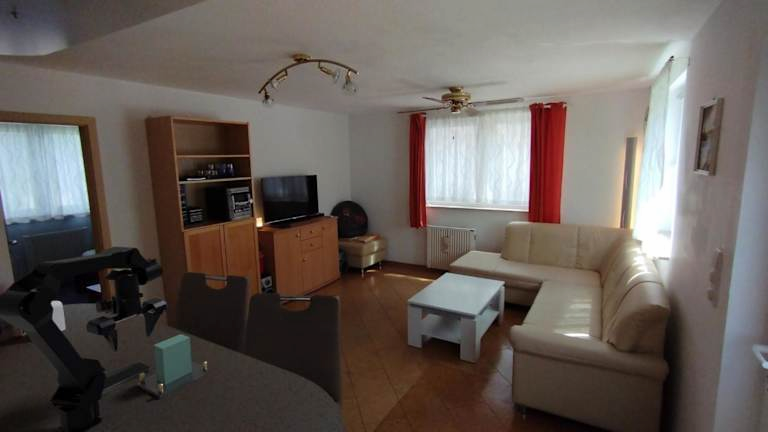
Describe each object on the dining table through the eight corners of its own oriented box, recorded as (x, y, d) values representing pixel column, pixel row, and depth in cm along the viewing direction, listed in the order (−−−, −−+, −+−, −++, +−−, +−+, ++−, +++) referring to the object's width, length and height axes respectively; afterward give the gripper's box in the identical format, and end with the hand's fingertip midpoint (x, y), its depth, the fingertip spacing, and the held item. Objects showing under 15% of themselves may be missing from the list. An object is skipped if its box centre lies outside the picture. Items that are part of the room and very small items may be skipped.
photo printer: (34, 342, 129) (30, 309, 128) (27, 339, 131) (23, 307, 129) (68, 329, 139) (64, 299, 137) (61, 328, 140) (57, 297, 139)
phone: (152, 368, 112) (95, 394, 99) (152, 371, 113) (96, 398, 100) (137, 361, 116) (81, 386, 103) (138, 364, 116) (82, 389, 103)
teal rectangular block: (165, 384, 104) (162, 348, 102) (156, 380, 106) (153, 345, 104) (191, 371, 111) (189, 337, 109) (183, 367, 113) (181, 334, 111)
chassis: (160, 398, 99) (159, 387, 99) (137, 385, 105) (136, 374, 104) (210, 372, 112) (209, 361, 112) (187, 361, 118) (187, 351, 117)
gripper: (142, 277, 112) (146, 324, 115) (70, 297, 95) (77, 352, 98) (166, 282, 108) (170, 331, 110) (96, 305, 91) (102, 362, 93)
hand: (132, 343), depth 103 cm, fingers open, 9 cm apart
